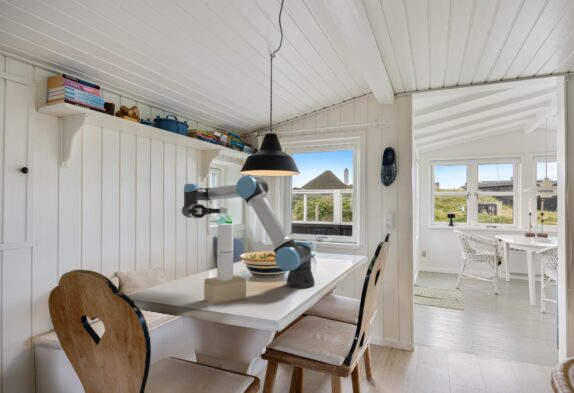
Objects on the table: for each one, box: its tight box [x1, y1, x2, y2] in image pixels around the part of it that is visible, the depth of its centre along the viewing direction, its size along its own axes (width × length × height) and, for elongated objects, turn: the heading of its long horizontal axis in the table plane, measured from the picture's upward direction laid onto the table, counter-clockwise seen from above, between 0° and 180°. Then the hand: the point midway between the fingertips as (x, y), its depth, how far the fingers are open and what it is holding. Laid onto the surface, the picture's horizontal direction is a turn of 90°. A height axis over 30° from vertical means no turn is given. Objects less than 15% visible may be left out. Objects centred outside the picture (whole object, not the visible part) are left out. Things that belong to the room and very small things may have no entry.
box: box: [203, 280, 247, 306], centre depth 149 cm, size 10×16×8 cm, turn 127°
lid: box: [203, 274, 246, 286], centre depth 149 cm, size 10×16×1 cm, turn 127°
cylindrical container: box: [216, 222, 235, 281], centre depth 149 cm, size 7×7×25 cm
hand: (213, 211), depth 163 cm, fingers open, 13 cm apart
